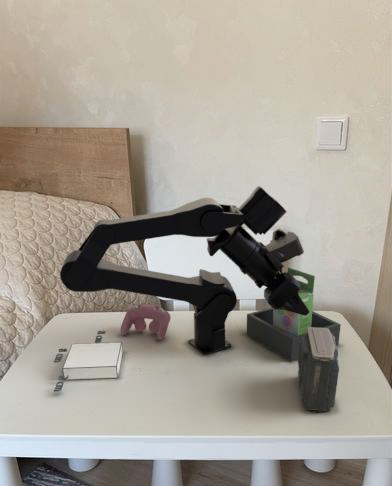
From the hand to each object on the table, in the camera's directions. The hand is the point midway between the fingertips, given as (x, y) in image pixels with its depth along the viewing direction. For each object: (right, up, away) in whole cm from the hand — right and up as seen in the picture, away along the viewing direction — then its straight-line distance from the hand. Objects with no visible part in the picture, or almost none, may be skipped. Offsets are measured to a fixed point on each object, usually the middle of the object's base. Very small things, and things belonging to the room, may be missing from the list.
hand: (300, 304), depth 101 cm
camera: (-1, -16, -15) cm, 22 cm away
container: (-40, -12, -5) cm, 42 cm away
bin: (-1, -7, +3) cm, 8 cm away
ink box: (-1, -7, +3) cm, 7 cm away
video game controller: (-31, -6, +7) cm, 32 cm away
